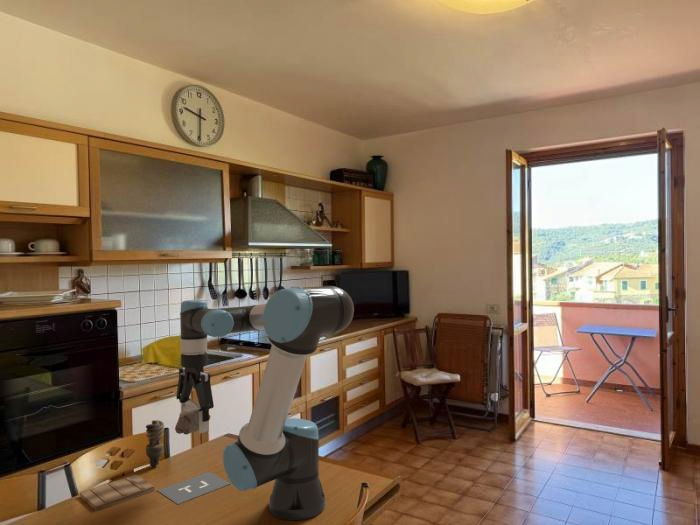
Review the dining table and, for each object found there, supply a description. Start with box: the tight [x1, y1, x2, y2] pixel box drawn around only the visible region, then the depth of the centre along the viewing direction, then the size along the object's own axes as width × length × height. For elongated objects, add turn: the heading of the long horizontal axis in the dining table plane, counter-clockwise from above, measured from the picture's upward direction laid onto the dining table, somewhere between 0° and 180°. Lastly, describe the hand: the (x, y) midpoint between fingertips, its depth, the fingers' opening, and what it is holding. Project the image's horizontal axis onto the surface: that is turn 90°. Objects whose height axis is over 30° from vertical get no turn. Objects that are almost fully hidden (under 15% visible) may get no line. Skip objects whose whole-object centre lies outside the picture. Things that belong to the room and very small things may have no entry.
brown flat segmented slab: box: [79, 474, 155, 512], centre depth 142 cm, size 12×16×1 cm
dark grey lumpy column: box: [145, 419, 165, 468], centre depth 160 cm, size 6×6×15 cm
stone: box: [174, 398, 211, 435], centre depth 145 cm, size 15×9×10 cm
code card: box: [157, 471, 232, 505], centre depth 145 cm, size 12×17×1 cm
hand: (194, 428), depth 145 cm, fingers closed on stone, 10 cm apart
